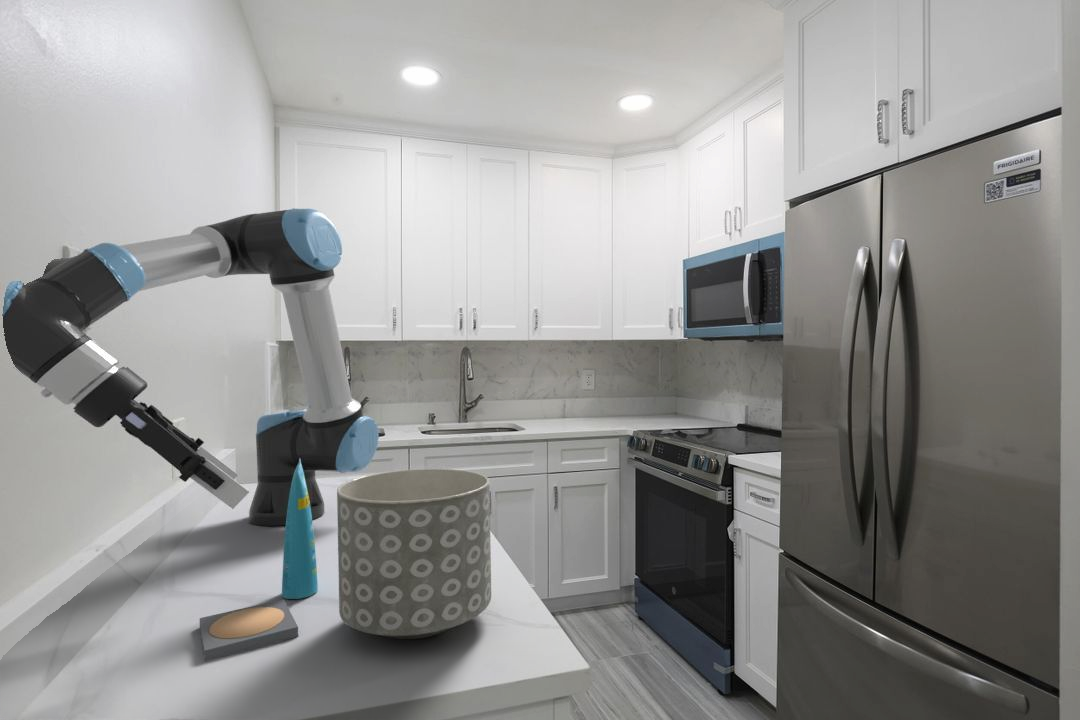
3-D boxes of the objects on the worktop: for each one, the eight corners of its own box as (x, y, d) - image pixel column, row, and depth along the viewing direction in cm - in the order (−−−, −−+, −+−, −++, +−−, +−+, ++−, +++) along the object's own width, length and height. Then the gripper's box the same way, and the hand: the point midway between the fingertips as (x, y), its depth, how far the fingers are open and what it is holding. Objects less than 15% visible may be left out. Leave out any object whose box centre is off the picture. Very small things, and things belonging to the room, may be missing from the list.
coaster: (199, 627, 74) (199, 617, 74) (283, 607, 79) (283, 598, 79) (204, 661, 65) (204, 649, 65) (298, 636, 71) (297, 625, 71)
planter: (337, 606, 79) (335, 475, 79) (471, 585, 86) (469, 464, 86) (342, 677, 62) (339, 508, 61) (510, 643, 68) (508, 491, 68)
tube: (319, 599, 82) (317, 464, 82) (282, 606, 80) (280, 468, 80) (315, 581, 89) (313, 457, 88) (281, 587, 86) (278, 460, 86)
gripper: (82, 402, 80) (208, 494, 88) (52, 416, 59) (221, 535, 67) (128, 363, 83) (246, 456, 91) (115, 363, 62) (270, 484, 70)
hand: (235, 490), depth 79 cm, fingers open, 13 cm apart
